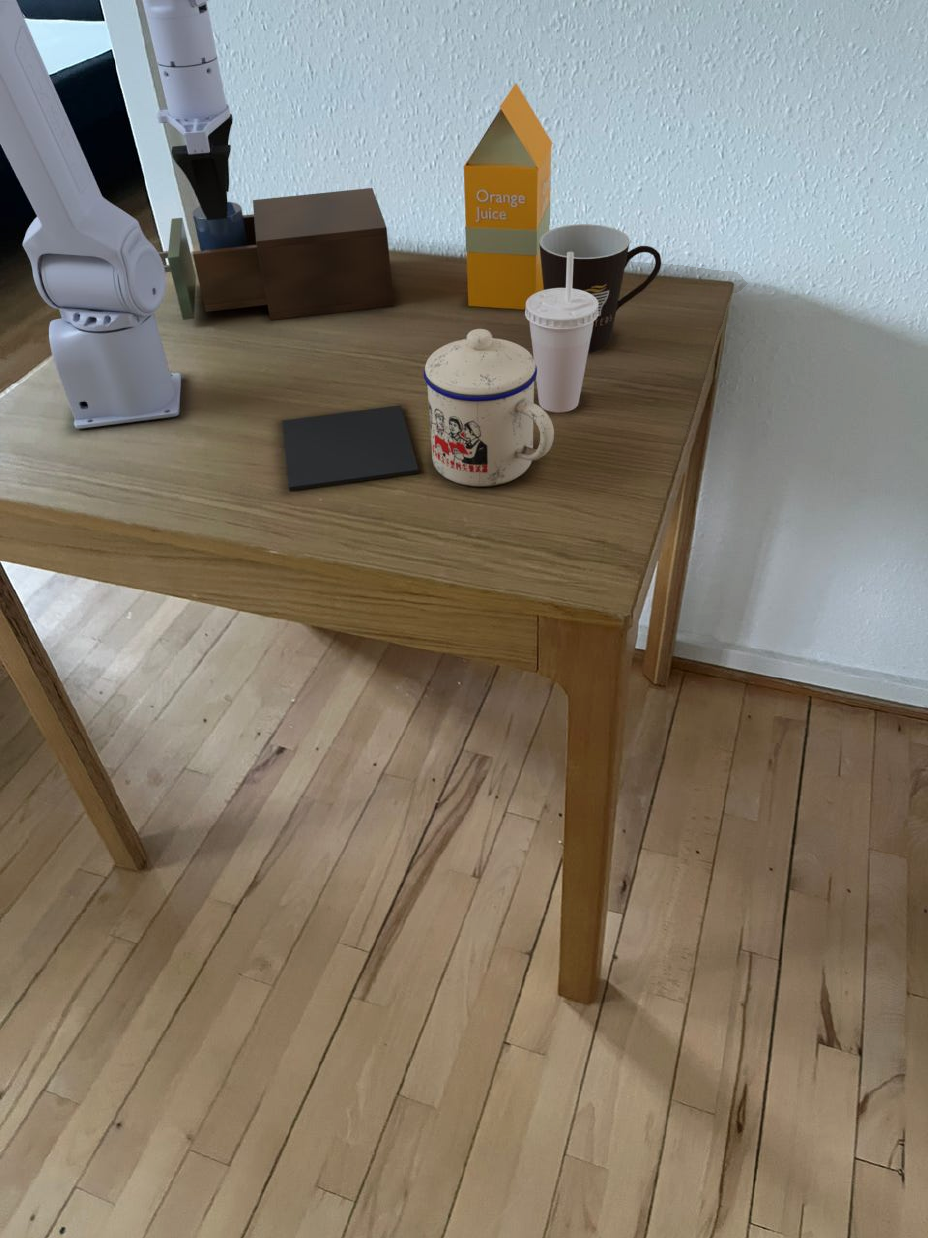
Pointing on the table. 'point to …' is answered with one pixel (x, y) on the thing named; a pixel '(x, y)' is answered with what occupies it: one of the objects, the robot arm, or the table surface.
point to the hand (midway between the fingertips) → (218, 204)
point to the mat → (347, 448)
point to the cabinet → (323, 253)
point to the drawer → (215, 272)
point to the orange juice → (507, 207)
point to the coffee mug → (593, 269)
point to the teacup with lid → (484, 410)
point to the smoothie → (561, 341)
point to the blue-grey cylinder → (221, 229)
